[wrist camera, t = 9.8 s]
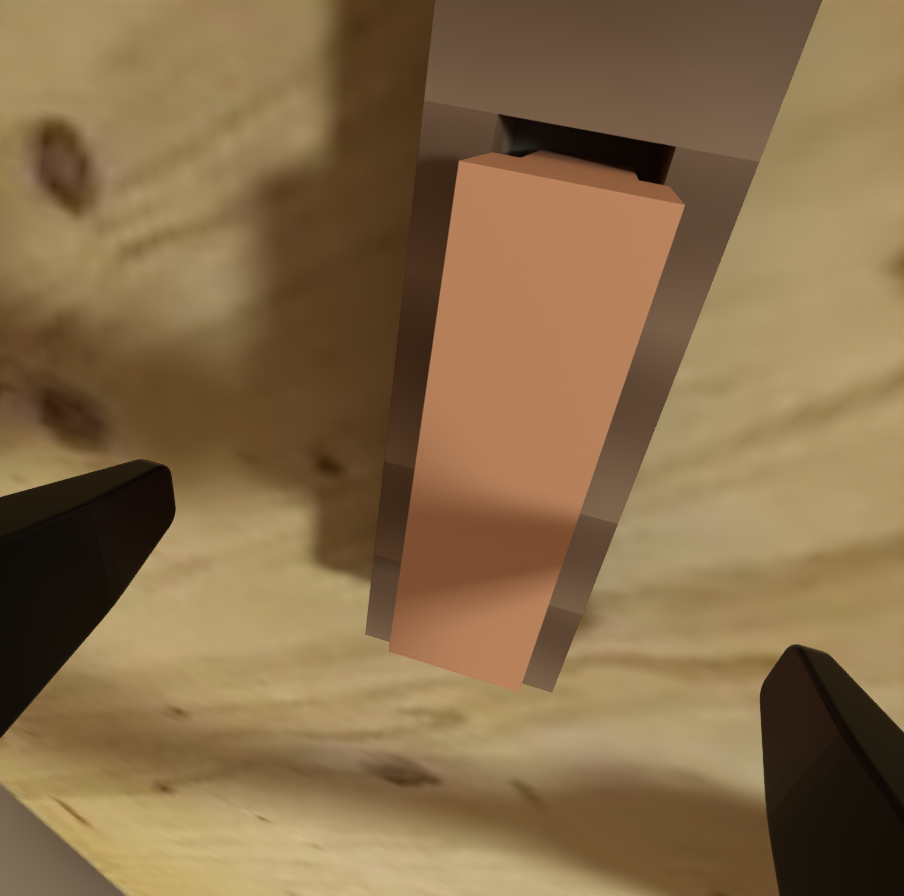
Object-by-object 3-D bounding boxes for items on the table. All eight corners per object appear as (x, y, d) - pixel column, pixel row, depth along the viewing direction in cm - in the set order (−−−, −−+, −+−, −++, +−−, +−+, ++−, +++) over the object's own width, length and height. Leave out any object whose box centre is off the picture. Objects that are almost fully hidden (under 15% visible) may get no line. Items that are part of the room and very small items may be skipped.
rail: (560, 619, 20) (551, 692, 17) (395, 571, 21) (365, 634, 18) (803, -51, 11) (862, -105, 8) (488, -95, 11) (452, -156, 9)
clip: (546, 527, 18) (518, 691, 13) (452, 502, 18) (388, 651, 13) (656, 170, 12) (685, 204, 7) (520, 144, 13) (458, 160, 8)
